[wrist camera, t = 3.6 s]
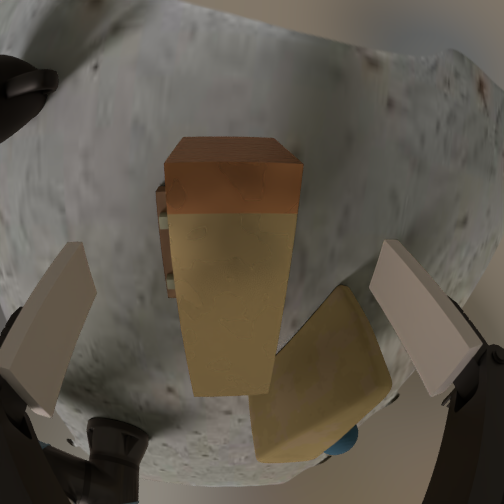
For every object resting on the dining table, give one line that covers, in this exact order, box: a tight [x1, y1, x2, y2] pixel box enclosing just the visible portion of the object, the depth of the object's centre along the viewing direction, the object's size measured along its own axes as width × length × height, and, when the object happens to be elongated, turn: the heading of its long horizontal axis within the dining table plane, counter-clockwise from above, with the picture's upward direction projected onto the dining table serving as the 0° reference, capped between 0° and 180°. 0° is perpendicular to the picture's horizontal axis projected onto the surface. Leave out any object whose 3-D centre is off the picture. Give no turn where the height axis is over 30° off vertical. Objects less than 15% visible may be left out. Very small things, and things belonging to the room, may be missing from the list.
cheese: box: [248, 285, 392, 463], centre depth 33 cm, size 22×10×15 cm, turn 158°
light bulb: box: [324, 425, 358, 455], centre depth 46 cm, size 8×8×12 cm
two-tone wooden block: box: [164, 137, 304, 397], centre depth 18 cm, size 15×5×9 cm, turn 177°
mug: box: [0, 55, 58, 143], centre depth 14 cm, size 8×12×10 cm
